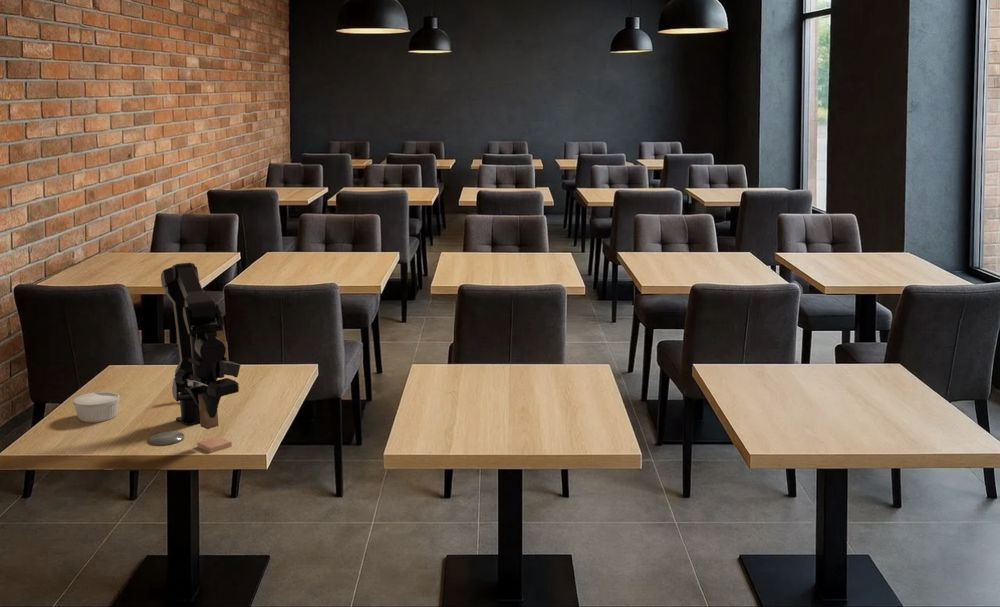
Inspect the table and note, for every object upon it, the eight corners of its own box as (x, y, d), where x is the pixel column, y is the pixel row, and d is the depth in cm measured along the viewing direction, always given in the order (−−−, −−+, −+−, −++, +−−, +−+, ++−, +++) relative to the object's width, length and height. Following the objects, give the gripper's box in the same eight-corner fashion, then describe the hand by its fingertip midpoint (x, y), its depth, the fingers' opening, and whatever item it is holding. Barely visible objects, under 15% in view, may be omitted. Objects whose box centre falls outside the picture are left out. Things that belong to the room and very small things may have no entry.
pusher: (200, 426, 248) (198, 394, 246) (211, 423, 250) (209, 391, 248) (207, 429, 246) (205, 396, 244) (218, 426, 248) (216, 394, 246)
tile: (197, 442, 248) (210, 448, 244) (217, 436, 252) (231, 441, 248) (197, 448, 248) (211, 454, 244) (218, 442, 252) (231, 448, 248)
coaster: (143, 439, 253) (143, 437, 253) (173, 431, 258) (173, 429, 258) (160, 447, 247) (160, 445, 247) (190, 438, 253) (190, 436, 253)
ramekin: (128, 410, 275) (127, 391, 274) (109, 424, 264) (107, 405, 263) (88, 409, 276) (86, 390, 275) (67, 423, 265) (65, 404, 264)
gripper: (256, 352, 243) (260, 416, 247) (212, 339, 256) (216, 400, 259) (214, 362, 235) (219, 428, 239) (171, 348, 248) (176, 410, 251)
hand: (208, 416), depth 247 cm, fingers closed on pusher, 3 cm apart
